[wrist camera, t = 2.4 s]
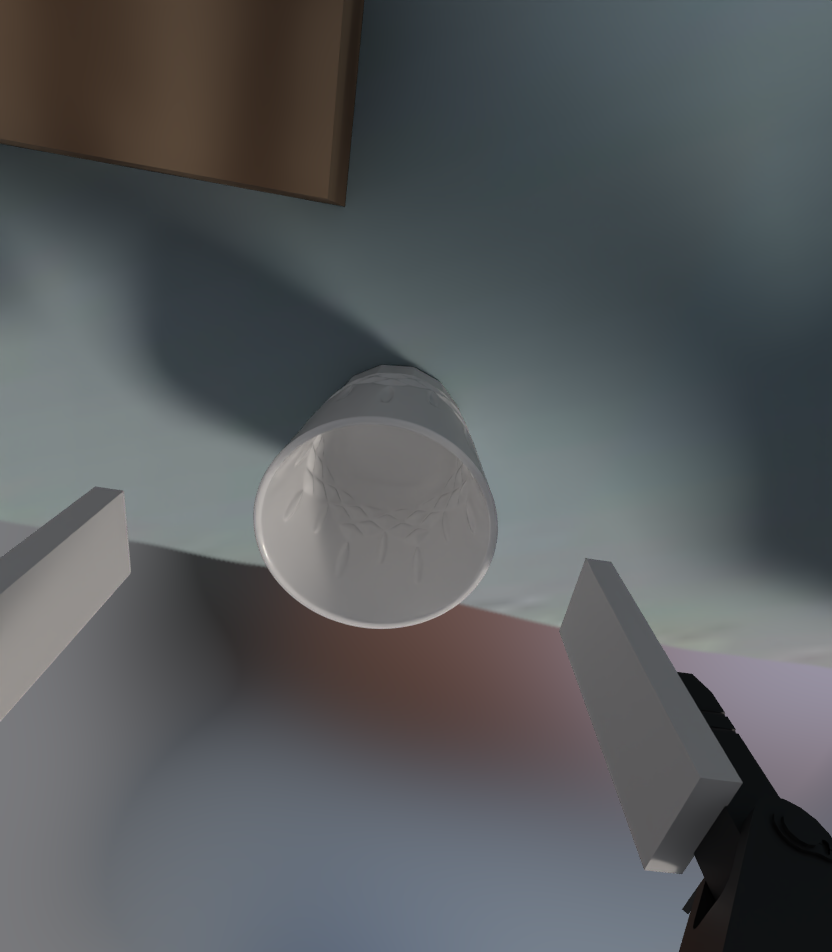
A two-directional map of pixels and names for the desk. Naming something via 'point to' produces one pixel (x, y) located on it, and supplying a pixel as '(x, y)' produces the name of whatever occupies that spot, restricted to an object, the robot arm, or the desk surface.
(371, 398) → the white cup
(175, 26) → the walnut base
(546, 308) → the desk surface
